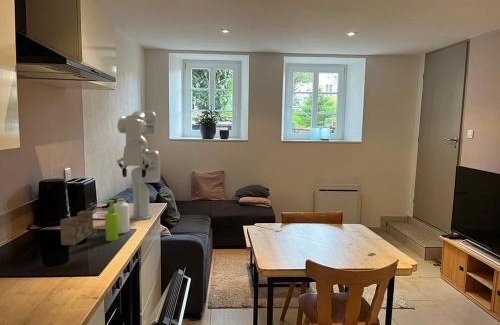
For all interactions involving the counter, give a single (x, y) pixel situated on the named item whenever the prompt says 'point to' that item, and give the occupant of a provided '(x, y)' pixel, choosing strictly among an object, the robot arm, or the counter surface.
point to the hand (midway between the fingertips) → (134, 177)
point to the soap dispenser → (111, 222)
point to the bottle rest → (76, 228)
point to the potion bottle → (122, 215)
